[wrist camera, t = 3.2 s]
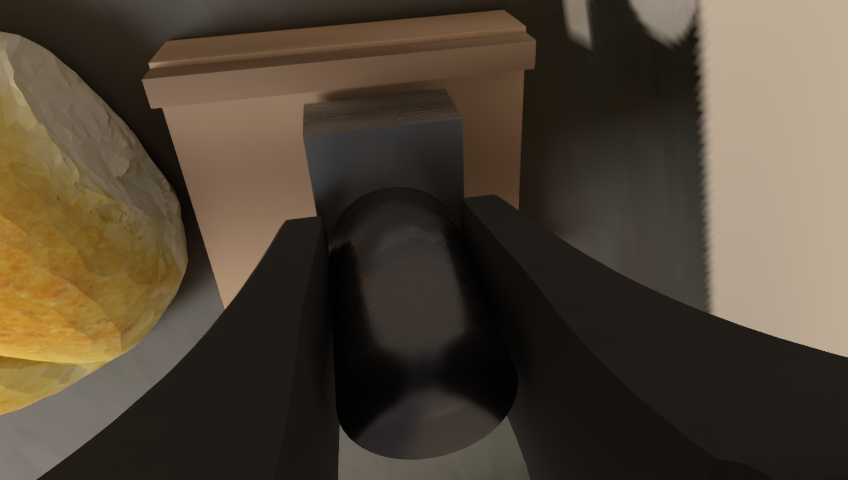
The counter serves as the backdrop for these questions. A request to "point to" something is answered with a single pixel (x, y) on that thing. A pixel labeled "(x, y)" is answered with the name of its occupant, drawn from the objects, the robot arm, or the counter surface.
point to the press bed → (320, 82)
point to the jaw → (404, 277)
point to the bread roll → (74, 229)
